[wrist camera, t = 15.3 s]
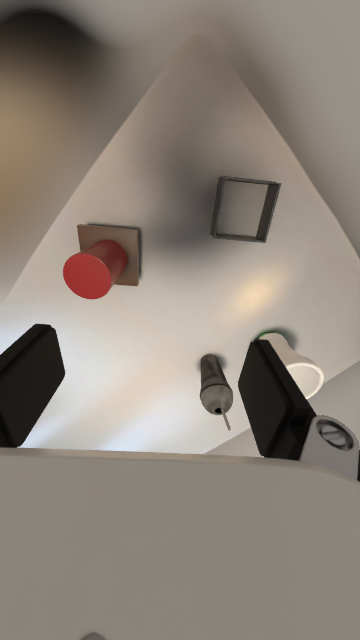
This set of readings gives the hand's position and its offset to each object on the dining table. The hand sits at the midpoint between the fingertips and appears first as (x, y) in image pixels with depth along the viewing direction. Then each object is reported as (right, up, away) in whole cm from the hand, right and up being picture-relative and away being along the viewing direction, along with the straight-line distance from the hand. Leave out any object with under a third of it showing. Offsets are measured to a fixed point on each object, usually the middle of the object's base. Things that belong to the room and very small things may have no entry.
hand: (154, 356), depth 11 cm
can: (-11, +13, +28) cm, 33 cm away
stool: (-12, +15, +33) cm, 38 cm away
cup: (+24, -4, +44) cm, 50 cm away
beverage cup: (+9, -9, +47) cm, 49 cm away
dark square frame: (+12, +22, +29) cm, 39 cm away
